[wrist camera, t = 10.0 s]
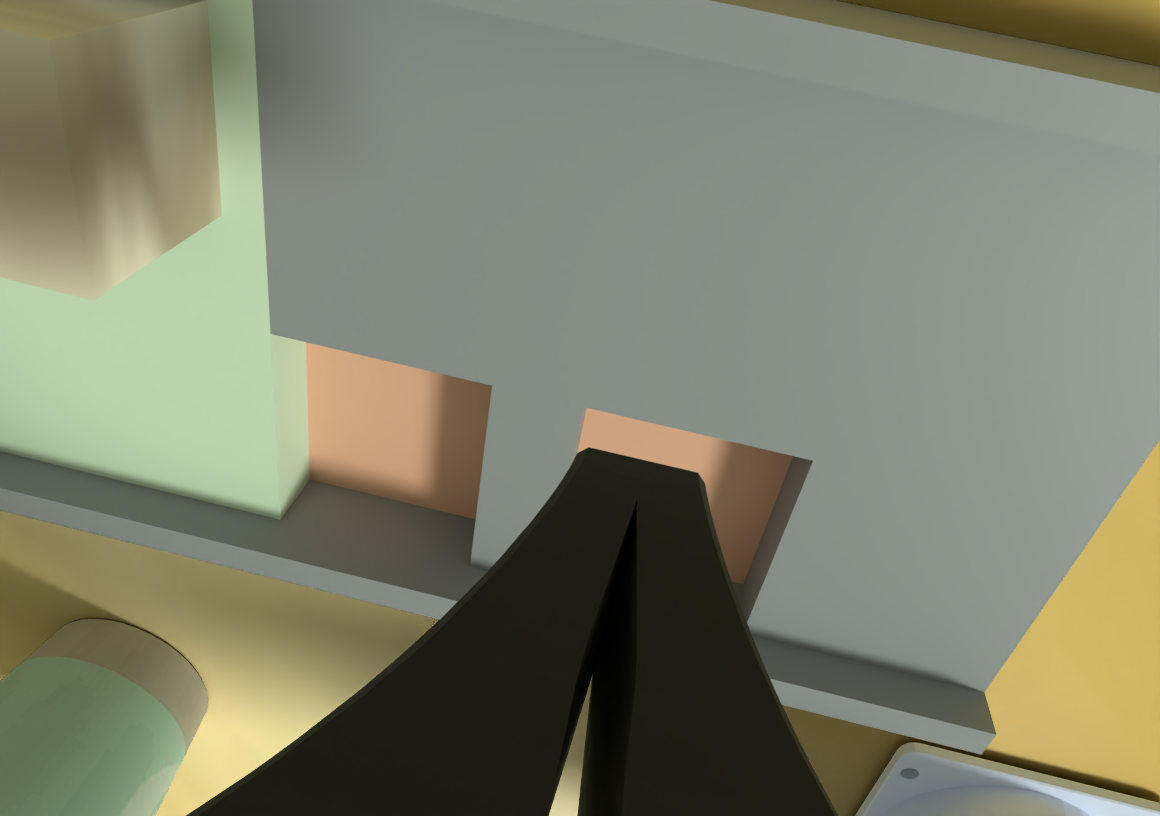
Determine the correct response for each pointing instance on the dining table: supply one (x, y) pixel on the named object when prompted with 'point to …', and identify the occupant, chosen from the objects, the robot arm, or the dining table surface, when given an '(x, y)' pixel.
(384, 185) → the box
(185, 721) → the coffee cup
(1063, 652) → the dining table surface
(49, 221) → the birch block
